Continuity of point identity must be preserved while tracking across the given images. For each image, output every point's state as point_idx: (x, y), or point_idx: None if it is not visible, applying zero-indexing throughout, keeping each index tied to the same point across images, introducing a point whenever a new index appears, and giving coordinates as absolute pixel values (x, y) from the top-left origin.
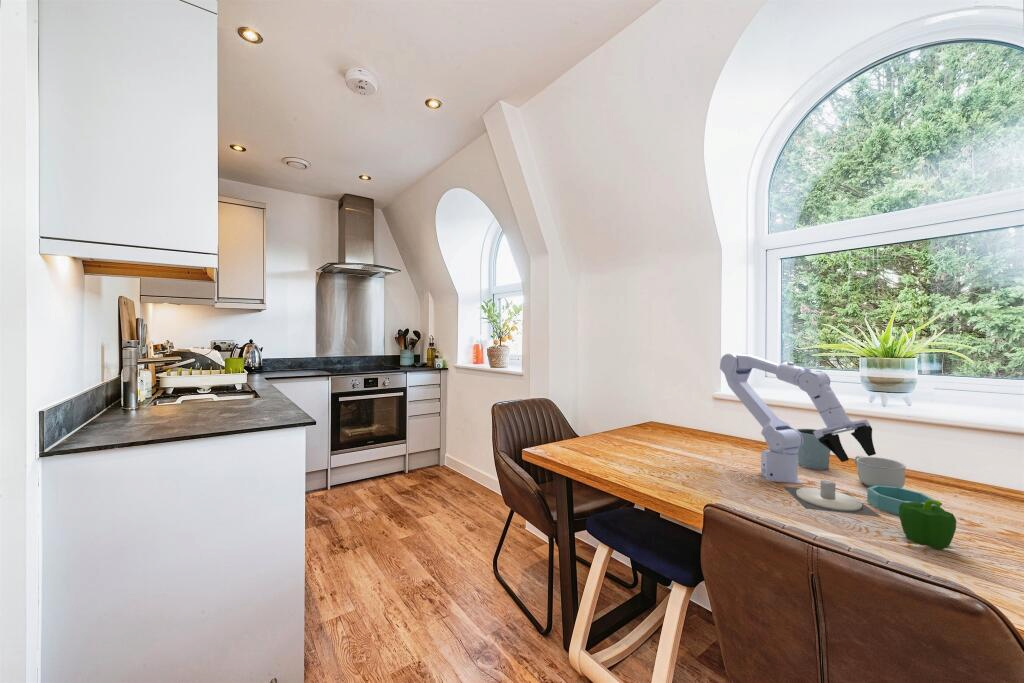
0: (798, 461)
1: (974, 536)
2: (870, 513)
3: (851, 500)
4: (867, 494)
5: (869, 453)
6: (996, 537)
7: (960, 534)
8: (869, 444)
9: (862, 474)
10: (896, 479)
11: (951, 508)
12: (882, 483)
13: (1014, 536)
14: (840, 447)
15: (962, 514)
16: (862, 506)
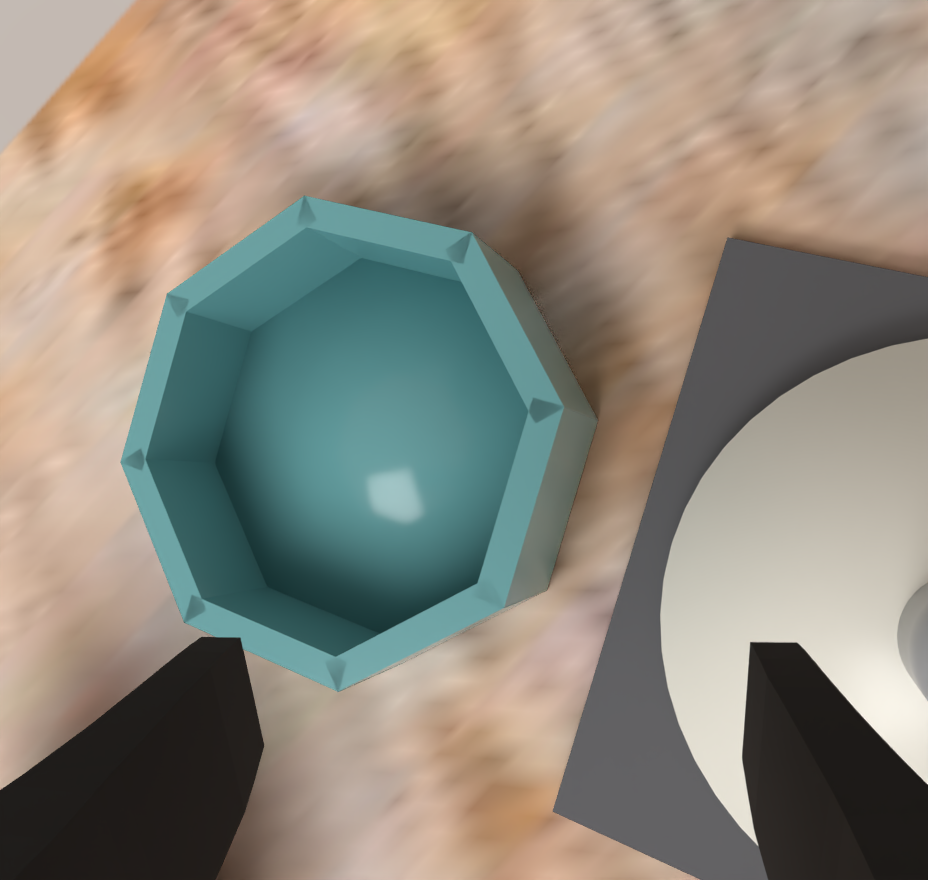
0: None
1: (312, 10)
2: (775, 299)
3: (759, 539)
4: (525, 596)
5: (240, 730)
6: (197, 22)
7: (372, 25)
8: (139, 757)
9: None
10: None
11: (21, 476)
12: None
13: (88, 59)
14: (916, 819)
15: (51, 374)
16: (708, 462)
